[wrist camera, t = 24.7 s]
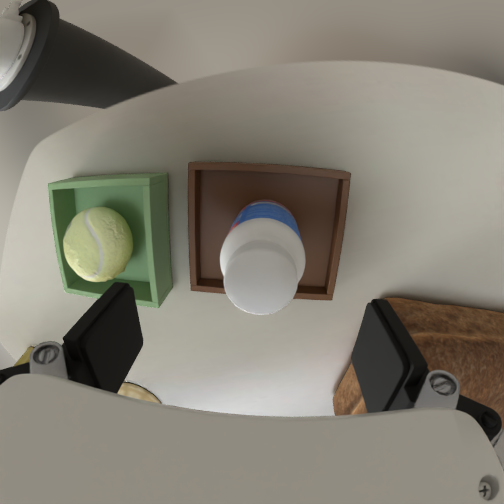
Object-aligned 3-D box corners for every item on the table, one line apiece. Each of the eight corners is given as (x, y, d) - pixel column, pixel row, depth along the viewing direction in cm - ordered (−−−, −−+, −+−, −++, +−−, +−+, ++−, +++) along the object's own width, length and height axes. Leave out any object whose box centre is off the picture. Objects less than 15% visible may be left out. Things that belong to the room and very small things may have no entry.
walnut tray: (194, 161, 23) (188, 162, 21) (344, 170, 22) (351, 172, 20) (195, 281, 27) (190, 290, 25) (328, 290, 26) (332, 300, 24)
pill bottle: (234, 196, 23) (209, 229, 14) (299, 200, 23) (318, 235, 14) (232, 258, 25) (211, 320, 16) (293, 262, 25) (304, 327, 16)
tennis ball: (114, 185, 23) (70, 199, 17) (159, 237, 25) (126, 266, 18) (81, 229, 25) (40, 251, 19) (122, 276, 26) (88, 308, 20)
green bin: (72, 177, 24) (47, 183, 20) (168, 172, 23) (149, 177, 19) (84, 276, 28) (64, 292, 24) (172, 287, 27) (159, 308, 23)
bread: (373, 284, 25) (430, 378, 13) (525, 310, 25) (571, 357, 13) (321, 398, 32) (331, 487, 19) (474, 392, 31) (502, 444, 19)
